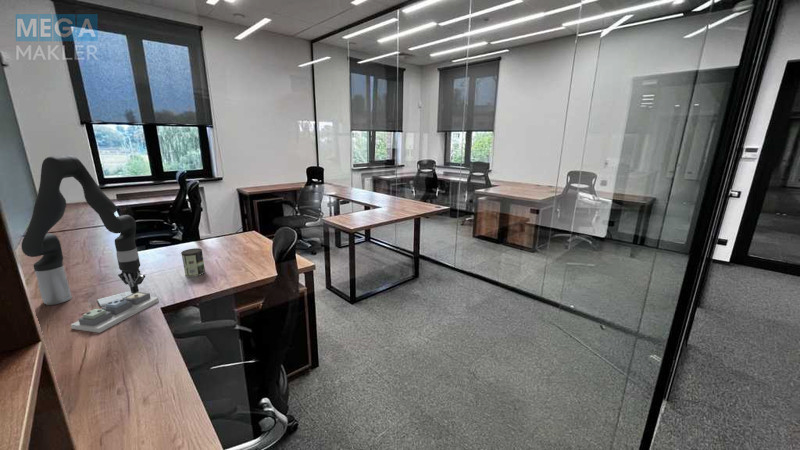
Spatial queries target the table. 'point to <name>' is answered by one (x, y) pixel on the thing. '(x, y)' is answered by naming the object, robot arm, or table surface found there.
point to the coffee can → (193, 262)
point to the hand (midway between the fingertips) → (135, 292)
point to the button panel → (115, 314)
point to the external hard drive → (112, 298)
